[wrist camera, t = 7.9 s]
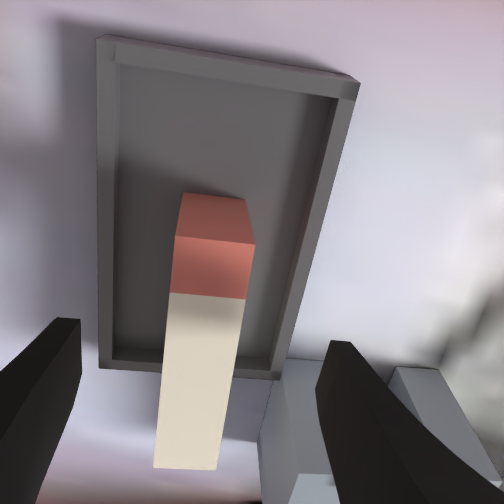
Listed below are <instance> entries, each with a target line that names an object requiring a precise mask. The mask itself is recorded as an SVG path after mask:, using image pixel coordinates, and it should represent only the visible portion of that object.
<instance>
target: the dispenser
mask: <svg viewBox="0 0 504 504" xmlns="http://www.w3.org/2000/svg"><path fill="white" fill-rule="evenodd" d="M323 362H324V361H315V360H302V359H288V358H286V360H285V364H284V367H283V371H282V375H281V378H280V381H278V380H274V381H273V385H272V389H271V393H270V396H269V400H268V404H267V408H266V412H265V415H264V419H263V423H262V427H261V431H260V435H259V438H258V442H257V448H258V460H259V471H260V483H261V494H262V504H340V502H339V497H338V493H337V489H336V485H335V482H334V478H333V474H332V470H331V466H330V463H329V459H328V455H327V451H326V447H325V443H324V440H323V436H322V432H321V428H320V424H319V418H318V411H317V403H316V395H315V387H316V384H317V381H318V378H319V375H320V372H321V368H322V365H323ZM388 388H389V389H390V390H391V391H392V392H393V393H394V394H395V396H396V397H397V398H398V399H399V400H400V401H401V402H402V403H403V404H404V405H405V407H406V408H407V409H408V410H409V411H410V412H411V413H412V414H413V415H414V416H415V417H416V418H417V419H418V420H419V421H420V422H421V423H422V424H423V425H424V426H425V427H426V428H427V429H428V430H429V431H430V432H431V433H432V434H433V435H434V436H435V437H437V438H438V439H439V440H440V441H441V442H442V443H443V444H444V445H445V446H447V447H448V448H449V449H450V450H451V451H452V452H453V453H454V454H456V455H457V456H458V457H459V458H460V459H462V460H463V461H464V462H465V463H466V464H468V465H469V466H470V467H472V468H473V469H474V470H475V471H477V472H478V473H479V474H480V475H482V476H483V477H484V478H485V479H487V480H488V481H489V482H491V483H492V484H494V485H495V486H496V487H499V486H500V485H501V483H502V482H503V481H502V479H501V477H500V476H499V474H498V472H497V470H496V469H495V467H494V465H493V463H492V462H491V460H490V458H489V456H488V455H487V453H486V451H485V449H484V448H483V446H482V444H481V442H480V441H479V439H478V437H477V435H476V434H475V432H474V430H473V428H472V427H471V425H470V423H469V421H468V420H467V418H466V416H465V414H464V413H463V411H462V409H461V407H460V406H459V404H458V402H457V400H456V399H455V397H454V395H453V394H452V392H451V390H450V388H449V387H448V385H447V383H446V381H445V380H444V378H443V376H442V374H441V373H440V371H439V370H435V369H421V368H408V367H396V368H395V371H394V373H393V375H392V377H391V380H390V382H389V384H388Z"/></svg>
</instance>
